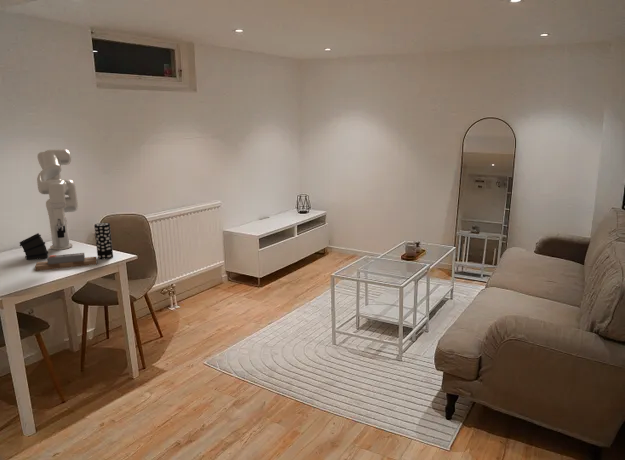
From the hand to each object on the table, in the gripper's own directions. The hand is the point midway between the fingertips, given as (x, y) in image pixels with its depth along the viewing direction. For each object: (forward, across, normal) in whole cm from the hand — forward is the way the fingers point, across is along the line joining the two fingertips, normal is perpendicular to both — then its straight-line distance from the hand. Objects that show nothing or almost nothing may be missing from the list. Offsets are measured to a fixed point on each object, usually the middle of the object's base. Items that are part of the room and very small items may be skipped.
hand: (61, 235), depth 267 cm
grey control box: (+16, +5, +1) cm, 17 cm away
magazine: (+17, -16, -16) cm, 29 cm away
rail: (+16, +5, +1) cm, 17 cm away
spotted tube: (+17, -4, +21) cm, 27 cm away
